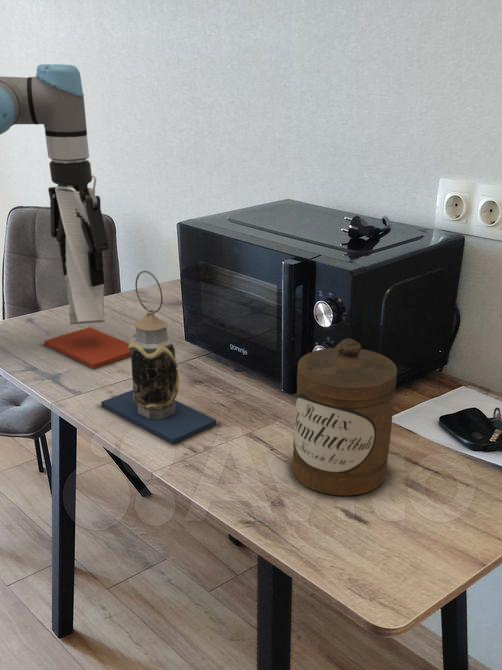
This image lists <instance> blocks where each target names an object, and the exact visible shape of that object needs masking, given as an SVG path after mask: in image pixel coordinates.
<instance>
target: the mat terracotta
mask: <svg viewBox="0 0 502 670" xmlns="http://www.w3.org/2000/svg"><path fill="white" fill-rule="evenodd" d="M43 343H44V346H46V347H48V348H50V349H52V350H55V351H57V352H58V353H61V354H63V355H65V356H67V357H69V358H71V359H73V360H75V361H77V362H78V363H81V364H83V365H85V366H87V367H89V368H91V369H97V368H100V367H103V366H106V365H108V364H111V363H115V362H117V361H121V360H124V359H126V358H129V357H130V358H131V350H128V346H129V342H128V343H127V341H123V340H120V339H118V338H116V337H114V336H112V335H110V334H107V333H105V332H103V331H101V330H98V329H95V328H93V327H91V326H89V327H85V328H82V329H78V330H76V331H72V332H69V333H68V332H67V333H65V334H60V335H58V336H54V337H51V338H48V339H45V340H43ZM131 349H132V348H131Z"/></svg>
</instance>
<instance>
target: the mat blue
mask: <svg viewBox="0 0 502 670" xmlns="http://www.w3.org/2000/svg"><path fill="white" fill-rule="evenodd" d="M133 394H134V393H133V389H131V390H129V391H126V392H123V393H120V394H118V395H116V396H112V397H110V398H107V399H105V400H101V402H100V404H101V407H102V408H104V409H106V410H108V411H109V412H111V413H113V414H115V415H117V416H119V417H120V418H122V419H124V420H127V421H128V422H130V423H132V424H134V425H136V426H138V427H139V428H141V429H143V430H145V431H147V432H149V433H151V434H152V435H154V436H156V437H158V438H159V439H162V440H164V441H165V442H168V443H170V444H171V445H176V444H178V443H180V442H182V441H184V440H187V439H189V438H191V437H193V436H195V435H197V434H199V433H202V432H204V431H206V430H208V429H210V428H212V427H215V426H217V419H215V418H213V417H211V416H210V415H209V416H208V415H207V414H204V412H203V413H202V412H200V411H198V410H197V409H194V408H192V407H190V406H188V405H186V404H183V403H181V402H180V401H177V400H176V399H175V403H176V409H175V413H174V414H172V415H170V416H167V417H165V418H163V419H149V418H147V417H145V416H143V415H141V414H139V413H138V405H137V403H136V402H135V400H134V398H133Z"/></svg>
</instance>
